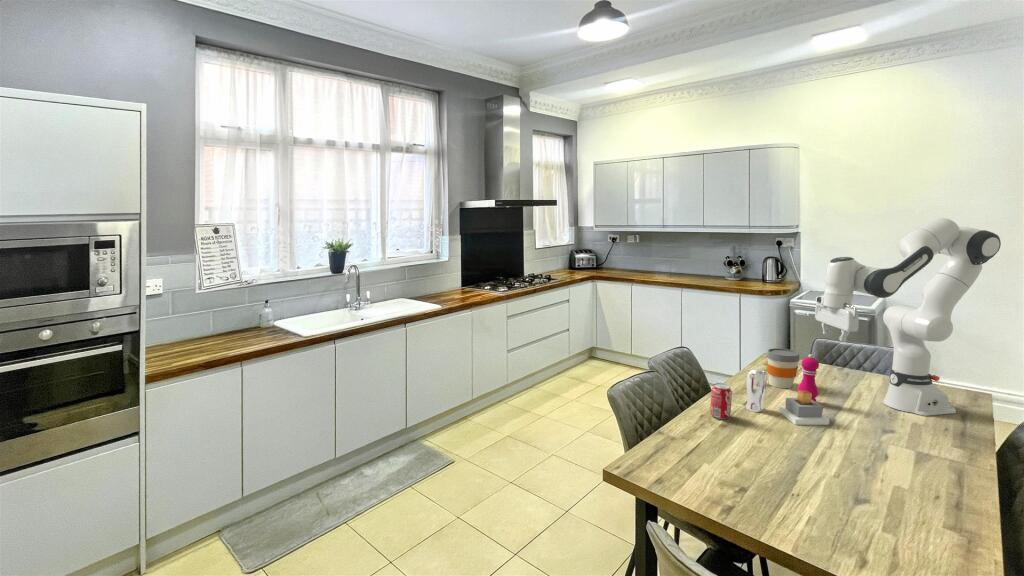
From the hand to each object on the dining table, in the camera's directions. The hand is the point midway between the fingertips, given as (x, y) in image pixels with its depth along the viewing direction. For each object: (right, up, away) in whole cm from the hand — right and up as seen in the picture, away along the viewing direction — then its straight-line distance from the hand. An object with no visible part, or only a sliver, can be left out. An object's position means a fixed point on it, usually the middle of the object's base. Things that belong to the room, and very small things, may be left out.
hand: (834, 338), depth 182 cm
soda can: (-42, -30, +1) cm, 51 cm away
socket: (-12, -30, 0) cm, 32 cm away
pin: (-12, -30, 0) cm, 32 cm away
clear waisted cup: (-26, -29, +8) cm, 39 cm away
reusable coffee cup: (-1, -24, +34) cm, 42 cm away
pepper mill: (-2, -28, +14) cm, 31 cm away
